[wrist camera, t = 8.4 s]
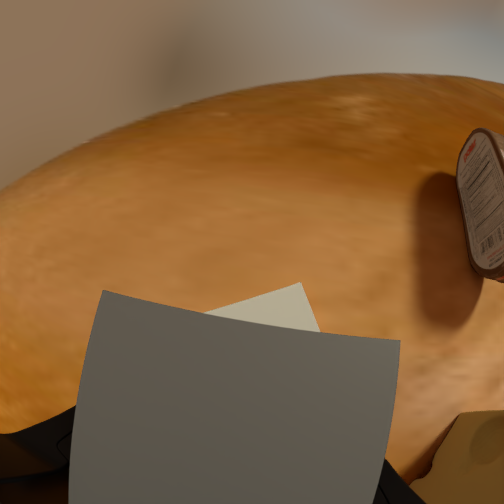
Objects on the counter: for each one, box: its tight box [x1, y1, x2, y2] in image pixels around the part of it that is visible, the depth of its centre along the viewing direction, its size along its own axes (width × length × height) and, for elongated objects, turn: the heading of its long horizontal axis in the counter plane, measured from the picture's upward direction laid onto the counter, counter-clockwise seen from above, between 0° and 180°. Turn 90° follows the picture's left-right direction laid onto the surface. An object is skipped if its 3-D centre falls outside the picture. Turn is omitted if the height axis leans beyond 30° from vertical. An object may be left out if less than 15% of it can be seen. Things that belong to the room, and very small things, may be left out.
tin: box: [456, 128, 504, 283], centre depth 19 cm, size 15×3×8 cm, turn 168°
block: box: [69, 290, 400, 504], centre depth 9 cm, size 5×5×12 cm
